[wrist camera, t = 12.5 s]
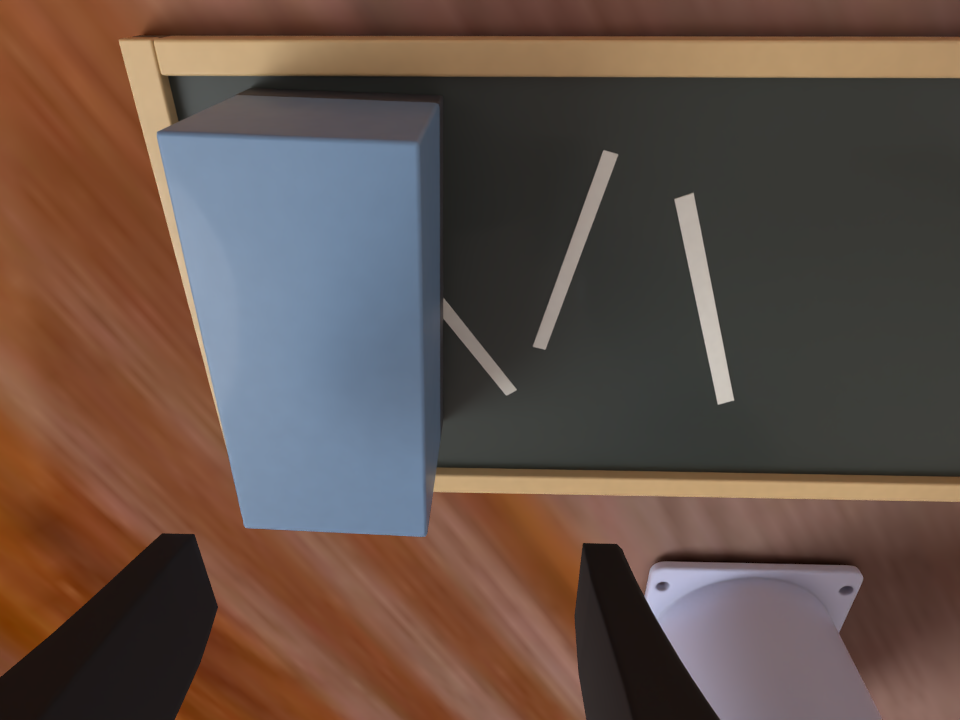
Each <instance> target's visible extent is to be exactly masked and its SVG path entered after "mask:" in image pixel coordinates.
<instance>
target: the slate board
mask: <svg viewBox="0 0 960 720" xmlns="http://www.w3.org/2000/svg"><path fill="white" fill-rule="evenodd" d="M119 44H120V48H121V51H122V55H123V59H124V63H125V67H126V70H127V74H128V78H129V82H130V85H131V89H132V93H133V97H134V101H135V104H136V108H137V112H138V116H139V119H140V123H141V127H142V131H143V135H144V138H145V142H146V146H147V150H148V153H149V157H150V161H151V165H152V169H153V172H154V176H155V180H156V184H157V187H158V191H159V195H160V199H161V203H162V206H163V210H164V214H165V218H166V221H167V225H168V229H169V233H170V237H171V240H172V244H173V248H174V252H175V255H176V259H177V263H178V267H179V271H180V274H181V278H182V282H183V286H184V289H185V293H186V297H187V301H188V305H189V308H190V312H191V316H192V320H193V323H194V327H195V331H196V335H197V339H198V342H199V346H200V350H201V354H202V357H203V361H204V365H205V369H206V373H207V376H208V380H209V384H210V388H211V391H212V395H213V399H214V403H215V407H216V410H217V414H218V418H219V422H220V425H221V421H220V416H219V412H218V407H217V403H216V398H215V394H214V389H213V385H212V381H211V376H210V372H209V367H208V363H207V358H206V354H205V349H204V345H203V341H202V336H201V332H200V327H199V323H198V318H197V314H196V309H195V305H194V300H193V296H192V292H191V287H190V283H189V278H188V274H187V269H186V265H185V260H184V256H183V252H182V247H181V243H180V238H179V234H178V229H177V225H176V220H175V216H174V212H173V207H172V203H171V198H170V194H169V189H168V185H167V180H166V176H165V172H164V167H163V163H162V158H161V154H160V149H159V145H158V140H157V131H160V130H162V129H164V128H166V127H168V126H170V125H173V124H175V123H177V122H179V121H181V120H183V119H186V118H188V117H190V116H192V115H194V114H196V113H199V112H201V111H203V110H205V109H207V108H209V107H212V106H214V105H216V104H218V103H220V102H222V101H225V100H227V99H229V98H231V97H233V96H236V94H238V93H240V92H243V91H245V90H247V89H249V88H267V89H293V90H318V91H344V92H370V93H396V94H422V95H441V96H443V427H442V434H441V439H440V447H439V454H438V461H437V468H436V475H435V482H434V489H433V492H467V493H520V494H572V495H625V496H678V497H730V498H783V499H836V500H888V501H941V502H960V37H798V36H165V35H139V36H133V37H128V38H122V39H119ZM221 429H222V425H221ZM222 433H223V429H222ZM223 437H224V434H223ZM224 441H225V438H224ZM225 444H226V443H225ZM226 448H227V447H226Z"/></svg>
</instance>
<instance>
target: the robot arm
mask: <svg viewBox="0 0 960 720" xmlns="http://www.w3.org/2000/svg"><path fill="white" fill-rule="evenodd" d="M862 582H863V576H862V574H861V572H860V571H859V569H858V568H857V567H855V566H851V565H814V564H768V563H721V562H675V561H662V562H658V563H655V564H654V565H653V566H652V567H651V569H650V571H649V576H648V581H647V586H646V591H645V596H644V595H643V593H642V591H641V589H640V587H639V585H638V583H637V581H636V579H635V577H634V575H633V573H632V571H631V569H630V566H629V564H628V562H627V560H626V558H625V555H624V553H623V550H622V549H621V548H620V547H619V546H618V545H617V544H592V543H583V548H582V556H581V565H580V574H579V583H578V591H577V600H576V609H575V629H576V644H577V658H578V671H579V678H580V684H581V690H582V696H583V702H584V708H585V714H586V720H883V719H882V717H881V715H880V713H879V711H878V709H877V707H876V705H875V703H874V701H873V699H872V698H871V696H870V694H869V692H868V690H867V688H866V686H865V684H864V682H863V680H862V678H861V676H860V674H859V672H858V670H857V668H856V666H855V664H854V662H853V660H852V658H851V656H850V654H849V652H848V650H847V648H846V646H845V644H844V643H843V641H842V639H841V637H840V635H839V632H840V629H841V627H842V625H843V623H844V621H845V619H846V616H847V614H848V612H849V610H850V608H851V606H852V603H853V601H854V599H855V597H856V595H857V593H858V590H859V588H860V586H861V584H862ZM217 608H218V606H217V603H216V600H215V597H214V593H213V590H212V587H211V584H210V581H209V578H208V575H207V572H206V569H205V566H204V563H203V560H202V556H201V553H200V550H199V547H198V544H197V541H196V538H195V535H194V534H161V535H160V536H159V537H158V538H157V539H156V540H154V541H153V542H152V543H151V544H150V545H149V546H148V547H147V548H146V549H145V550H143V551H142V552H141V553H140V554H139V555H138V556H137V557H136V558H135V559H134V560H133V561H131V562H130V563H129V564H128V565H127V566H126V567H125V568H124V569H123V570H122V571H121V572H120V573H119V574H117V575H116V576H115V577H114V578H113V579H112V580H111V581H110V582H109V583H108V584H107V585H106V586H104V587H103V588H102V589H101V590H100V591H99V592H98V593H97V594H96V595H95V596H94V597H93V598H91V599H90V600H89V601H88V602H87V603H86V604H85V605H84V606H83V607H81V608H80V609H79V610H78V611H77V612H76V613H75V614H74V615H73V616H71V617H70V618H69V619H68V620H67V621H66V622H65V623H64V624H63V625H61V626H60V627H59V628H58V629H57V630H56V631H55V632H54V633H52V634H51V635H50V636H49V637H48V638H47V639H45V640H44V641H43V642H42V643H41V644H39V645H38V646H37V647H36V648H35V649H33V650H32V651H31V652H30V653H29V654H28V655H26V656H25V657H24V658H23V659H22V660H20V661H19V662H18V663H17V664H16V665H14V666H13V667H12V668H11V669H10V670H9V671H7V672H6V673H5V674H4V675H3V676H1V677H0V720H175V718H176V715H177V713H178V711H179V709H180V707H181V705H182V702H183V700H184V698H185V696H186V693H187V691H188V689H189V687H190V685H191V682H192V680H193V678H194V676H195V673H196V671H197V669H198V666H199V664H200V662H201V659H202V656H203V653H204V650H205V647H206V644H207V641H208V638H209V635H210V631H211V628H212V625H213V621H214V618H215V615H216V612H217Z"/></svg>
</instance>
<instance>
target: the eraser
mask: <svg viewBox="0 0 960 720" xmlns="http://www.w3.org/2000/svg"><path fill="white" fill-rule="evenodd" d="M157 140H158V145H159V149H160V154H161V158H162V163H163V167H164V172H165V176H166V180H167V185H168V189H169V194H170V198H171V203H172V207H173V212H174V216H175V220H176V225H177V229H178V234H179V238H180V243H181V247H182V252H183V256H184V260H185V265H186V269H187V274H188V278H189V283H190V287H191V292H192V296H193V300H194V305H195V309H196V314H197V318H198V323H199V327H200V332H201V336H202V341H203V345H204V349H205V354H206V358H207V363H208V367H209V372H210V376H211V381H212V385H213V389H214V394H215V398H216V403H217V407H218V412H219V416H220V421H221V425H222V429H223V434H224V438H225V443H226V447H227V452H228V456H229V461H230V465H231V470H232V474H233V478H234V483H235V487H236V492H237V496H238V501H239V505H240V510H241V514H242V518H243V523H244V526H245V527H246V528H255V529H275V530H296V531H316V532H337V533H357V534H377V535H398V536H418V537H424V536H426V534H427V532H428V525H429V518H430V511H431V504H432V496H433V489H434V482H435V475H436V468H437V461H438V454H439V447H440V439H441V434H442V427H443V96H441V95H422V94H396V93H370V92H344V91H318V90H293V89H267V88H249V89H247V90H245V91H243V92H240V93H238V94H236V96H233V97H231V98H229V99H227V100H225V101H222V102H220V103H218V104H216V105H214V106H212V107H209V108H207V109H205V110H203V111H201V112H199V113H196V114H194V115H192V116H190V117H188V118H186V119H183V120H181V121H179V122H177V123H175V124H173V125H170V126H168V127H166V128H164V129H162V130H160V131H157Z"/></svg>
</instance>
